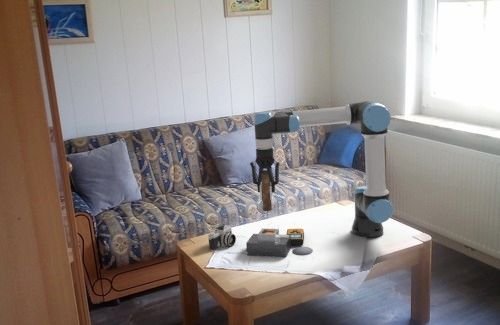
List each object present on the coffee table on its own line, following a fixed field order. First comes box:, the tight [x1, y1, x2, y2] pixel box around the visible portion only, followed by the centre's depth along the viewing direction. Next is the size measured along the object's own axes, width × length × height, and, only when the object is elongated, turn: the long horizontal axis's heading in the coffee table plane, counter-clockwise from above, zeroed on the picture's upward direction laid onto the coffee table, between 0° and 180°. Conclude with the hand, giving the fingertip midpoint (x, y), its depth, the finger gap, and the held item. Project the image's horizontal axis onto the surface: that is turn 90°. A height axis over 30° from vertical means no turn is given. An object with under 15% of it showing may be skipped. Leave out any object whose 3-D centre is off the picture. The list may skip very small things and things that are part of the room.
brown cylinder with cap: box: [261, 169, 273, 212], centre depth 236 cm, size 4×4×18 cm
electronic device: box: [286, 228, 305, 247], centre depth 253 cm, size 8×16×3 cm, turn 175°
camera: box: [208, 224, 237, 252], centre depth 251 cm, size 16×9×10 cm, turn 146°
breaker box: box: [245, 228, 292, 258], centre depth 241 cm, size 18×12×10 cm, turn 74°
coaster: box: [292, 246, 314, 256], centre depth 239 cm, size 9×9×1 cm
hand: (266, 199), depth 237 cm, fingers closed on brown cylinder with cap, 4 cm apart
